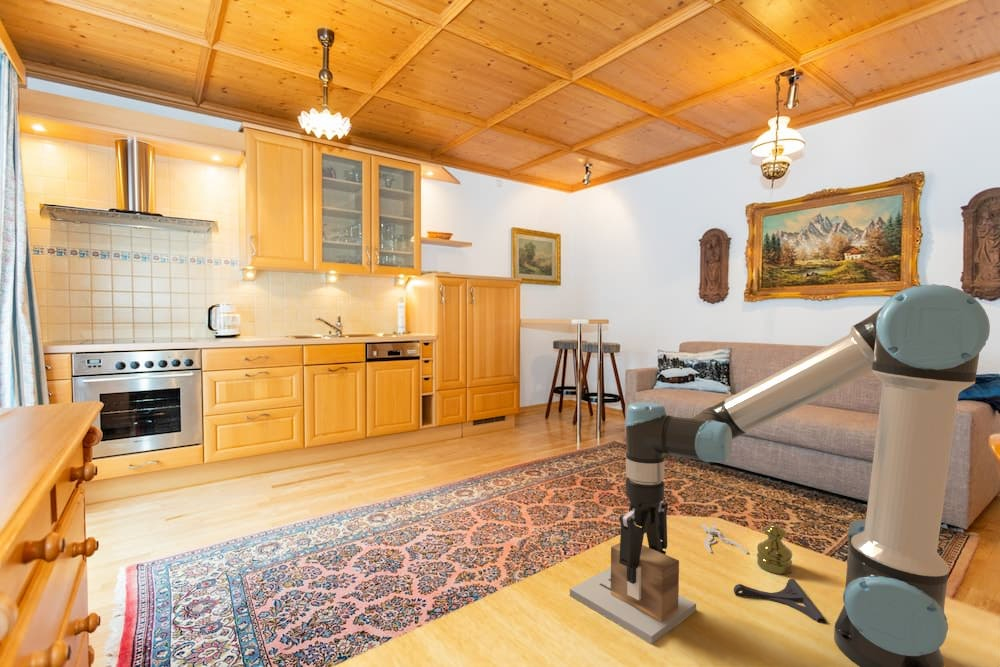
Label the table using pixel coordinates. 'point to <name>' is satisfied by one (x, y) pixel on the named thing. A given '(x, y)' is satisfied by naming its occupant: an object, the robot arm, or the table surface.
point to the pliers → (715, 532)
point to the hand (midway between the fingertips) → (643, 590)
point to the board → (627, 608)
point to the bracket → (784, 598)
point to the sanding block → (649, 582)
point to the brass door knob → (774, 551)
